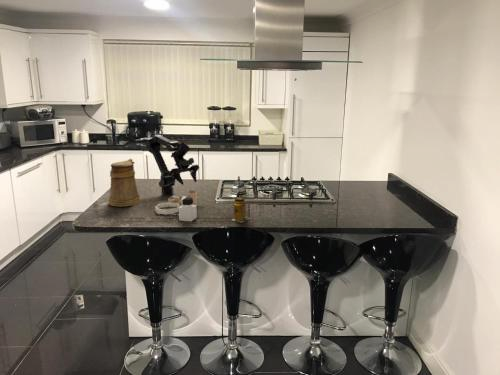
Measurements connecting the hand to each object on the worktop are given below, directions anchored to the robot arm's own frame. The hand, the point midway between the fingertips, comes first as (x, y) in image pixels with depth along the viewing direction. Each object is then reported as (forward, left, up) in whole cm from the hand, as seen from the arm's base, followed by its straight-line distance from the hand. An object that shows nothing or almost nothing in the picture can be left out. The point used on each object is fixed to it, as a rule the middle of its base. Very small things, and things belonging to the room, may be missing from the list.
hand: (189, 183), depth 252 cm
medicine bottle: (+9, -26, -13) cm, 30 cm away
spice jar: (+5, -8, -13) cm, 16 cm away
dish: (-7, -16, -13) cm, 22 cm away
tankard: (-40, -5, -13) cm, 42 cm away
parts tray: (-8, +1, -13) cm, 15 cm away
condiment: (+37, -20, -13) cm, 44 cm away
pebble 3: (-6, +3, -12) cm, 14 cm away
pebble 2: (-8, 0, -12) cm, 14 cm away
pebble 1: (-11, +2, -12) cm, 16 cm away
